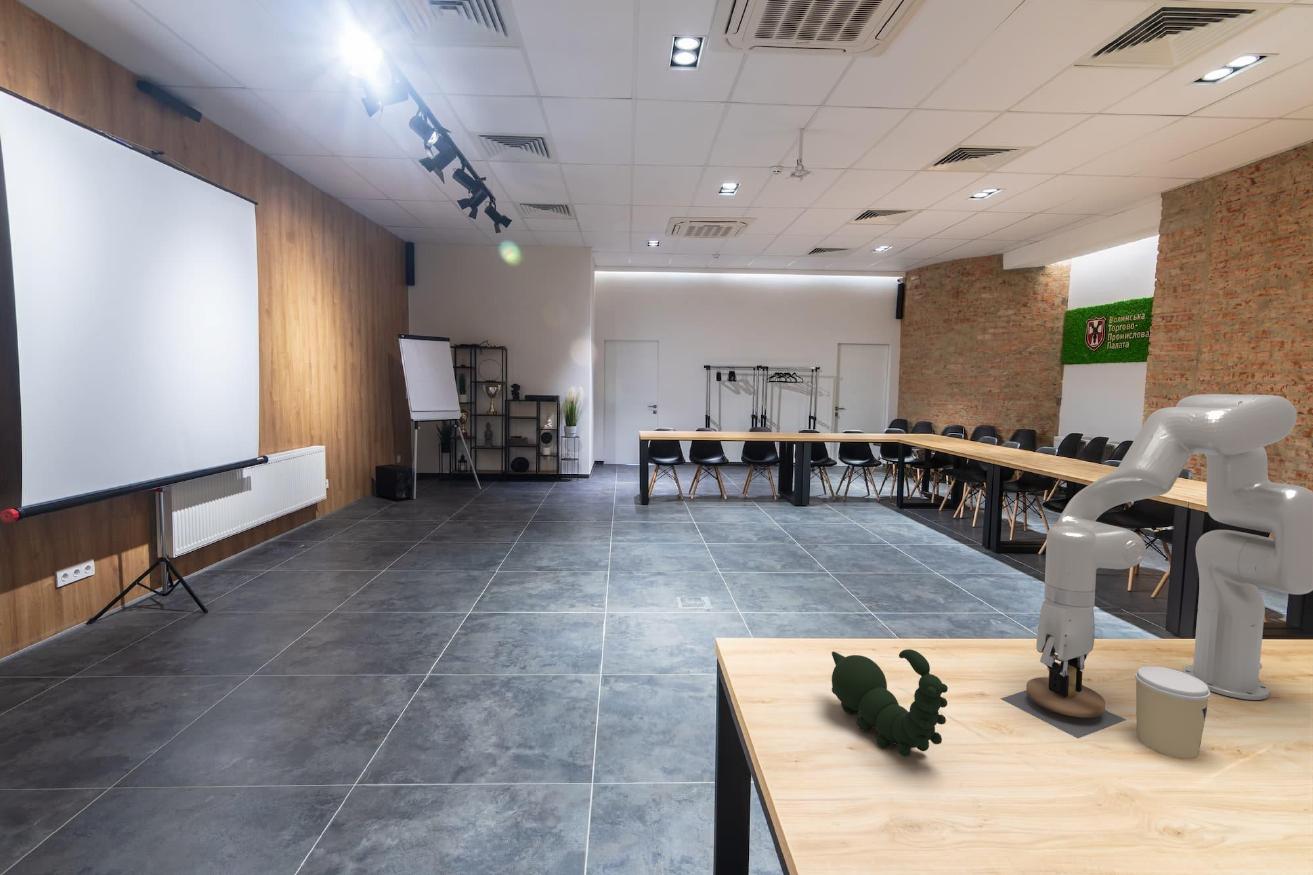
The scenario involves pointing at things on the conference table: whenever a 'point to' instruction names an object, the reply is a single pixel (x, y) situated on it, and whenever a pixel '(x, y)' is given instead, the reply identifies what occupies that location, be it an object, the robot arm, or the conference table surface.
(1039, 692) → the lid
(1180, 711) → the coffee cup
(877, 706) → the toy figurine
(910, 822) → the conference table surface
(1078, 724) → the mat
